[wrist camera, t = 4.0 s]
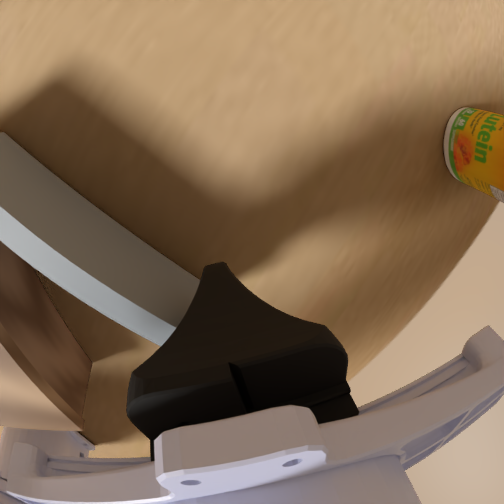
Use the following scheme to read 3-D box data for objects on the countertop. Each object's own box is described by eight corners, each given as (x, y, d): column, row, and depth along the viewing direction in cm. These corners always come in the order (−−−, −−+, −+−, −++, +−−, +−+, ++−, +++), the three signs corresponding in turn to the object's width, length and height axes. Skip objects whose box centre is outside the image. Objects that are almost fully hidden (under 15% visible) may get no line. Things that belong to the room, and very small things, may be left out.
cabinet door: (-14, 144, 9) (-73, 167, 5) (-5, 124, 9) (-65, 140, 5) (197, 302, 16) (204, 367, 12) (211, 287, 15) (222, 352, 11)
